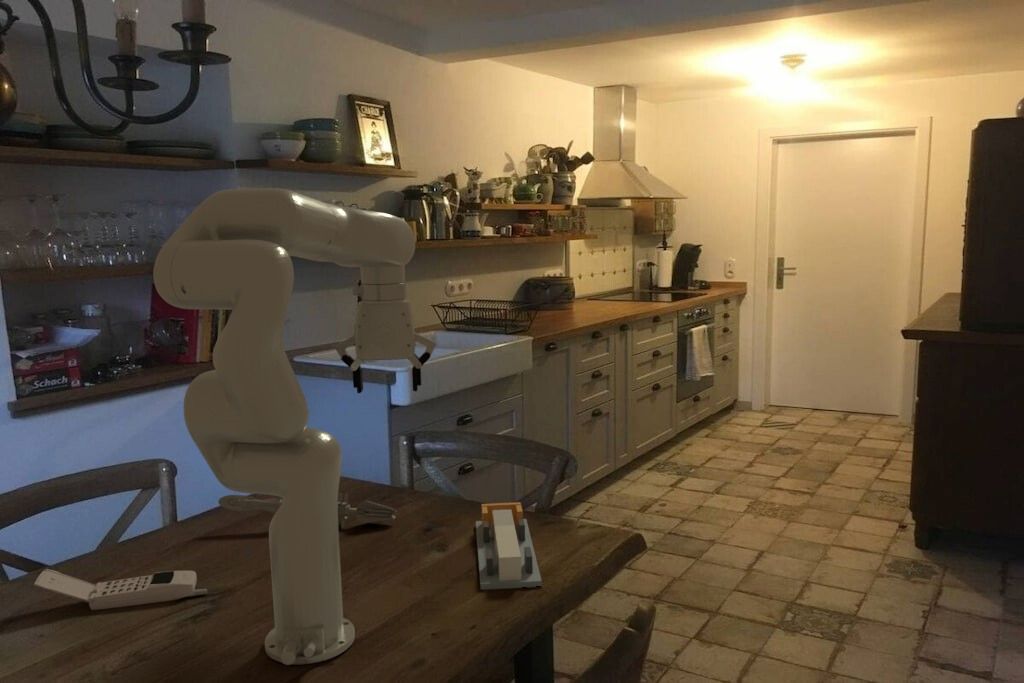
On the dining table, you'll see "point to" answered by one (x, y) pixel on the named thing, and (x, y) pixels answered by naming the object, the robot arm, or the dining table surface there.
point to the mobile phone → (123, 588)
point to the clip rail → (488, 552)
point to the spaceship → (364, 511)
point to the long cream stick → (506, 545)
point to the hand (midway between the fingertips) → (387, 390)
